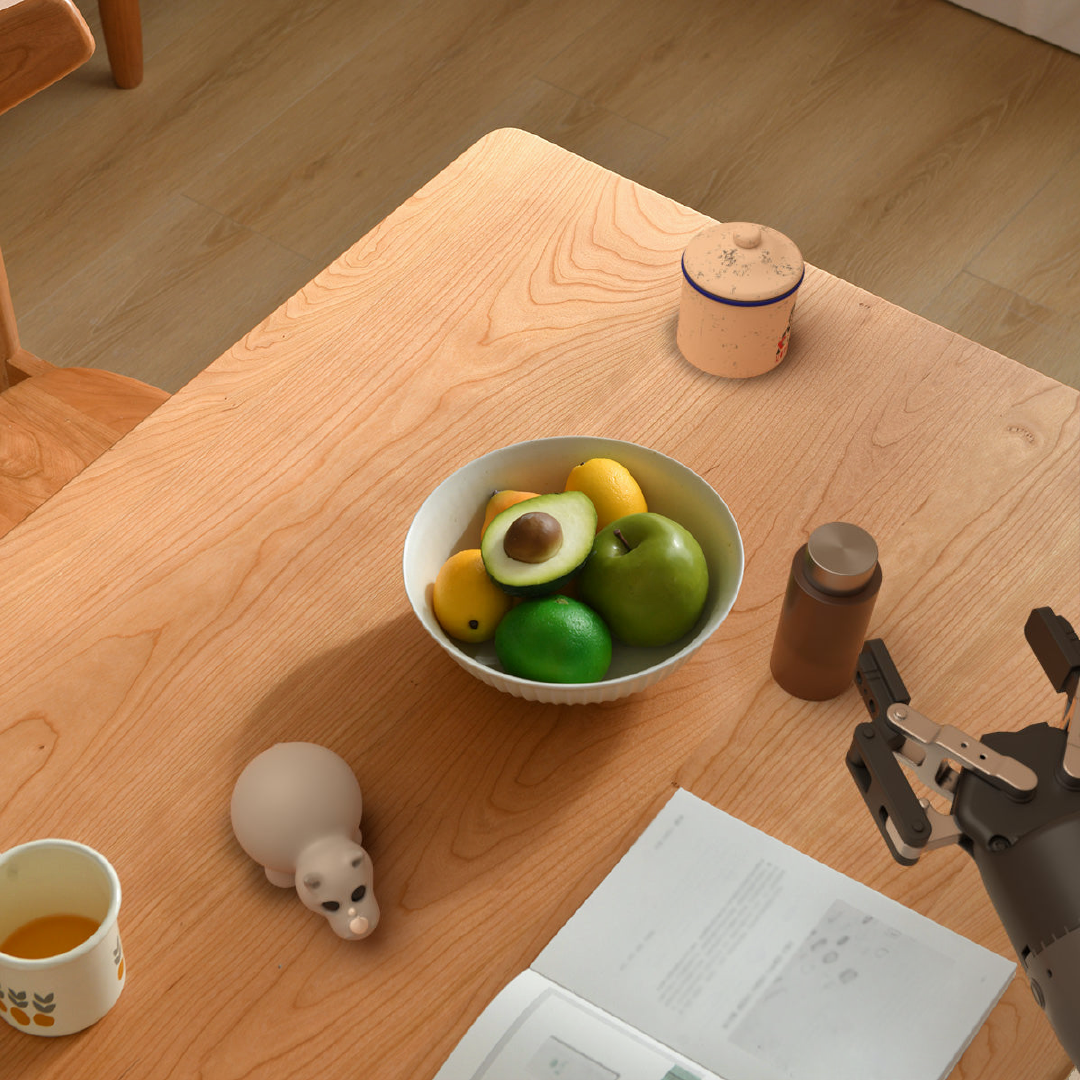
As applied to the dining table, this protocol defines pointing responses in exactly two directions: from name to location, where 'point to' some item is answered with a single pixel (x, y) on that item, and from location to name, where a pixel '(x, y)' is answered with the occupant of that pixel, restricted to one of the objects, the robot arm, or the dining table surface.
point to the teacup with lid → (738, 299)
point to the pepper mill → (826, 612)
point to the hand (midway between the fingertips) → (951, 632)
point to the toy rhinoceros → (308, 832)
